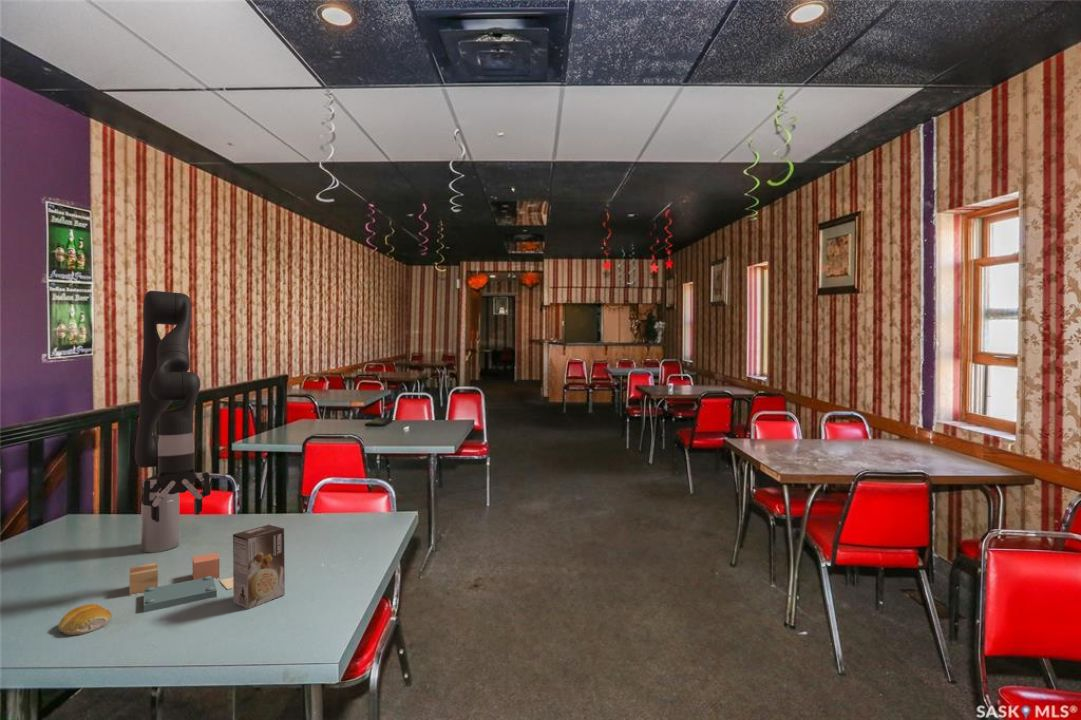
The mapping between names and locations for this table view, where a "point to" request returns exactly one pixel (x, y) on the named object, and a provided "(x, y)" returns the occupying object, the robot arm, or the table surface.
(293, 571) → the table surface
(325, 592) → the table surface
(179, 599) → the board
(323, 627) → the table surface
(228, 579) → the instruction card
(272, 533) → the coffee box
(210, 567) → the terracotta brick
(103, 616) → the bread roll
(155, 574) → the oak brick
